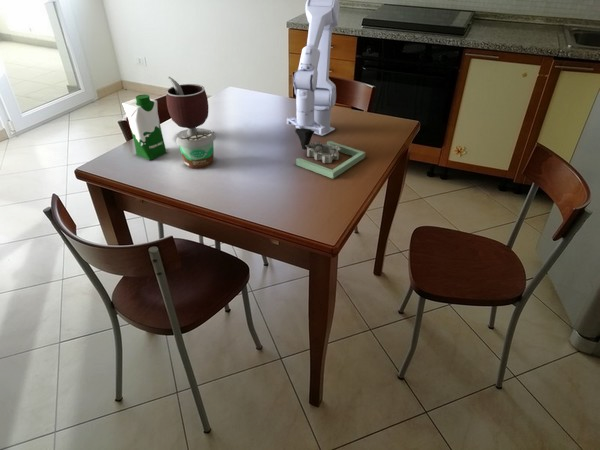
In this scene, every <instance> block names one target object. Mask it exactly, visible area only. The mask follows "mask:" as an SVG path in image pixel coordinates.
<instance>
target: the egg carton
mask: <svg viewBox="0 0 600 450" xmlns="http://www.w3.org/2000/svg"><path fill="white" fill-rule="evenodd" d="M305 146H306V147H307V149H306V156H307V157H308V158H314V160H315V161H322V164H331V163H333V160H335V161H338V160H339V157H340V152H339V150H340V149H341V147H339V146H337V145H334V146H332V145H327V143H320V141H316V142H315V141H313V142H312V143H311V142H310V143H309V144H308V145H305Z"/></svg>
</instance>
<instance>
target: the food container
mask: <svg viewBox="0 0 600 450" xmlns="http://www.w3.org/2000/svg"><path fill="white" fill-rule="evenodd" d="M215 140H216V135H215V132H214V131H213V129H211V132H210V133H207V134H197V135H192V136H190V137H186V138H182V139H180V138H178V137H177V139H176V138H175V143H176V145H177V146H179V150H180V153H181V157H182V160H183V163H184V166H185V167H187V168H189V169H192V170H201V169H207V168H208V167H210V166H212V165H213V164H214V162H215V153H214V149H215V148H214V142H215Z"/></svg>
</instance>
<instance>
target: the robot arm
mask: <svg viewBox="0 0 600 450" xmlns="http://www.w3.org/2000/svg"><path fill="white" fill-rule="evenodd" d="M304 9H305V11H304V12H305V16H306V21H307V22H308V33H307V40H306V46H304V47H303V48H302V49H301V54H300V58H299V64H298V68H297V70H295V72H294V74H293V79H292V85H293V89H294V95H295V98H296V99H295V106H296V108H295V109H296V111H295V112H296V113H295V114H296V117H294V116H288V117H286V124H287V125H293V126H295V128H296V129H295V130H294V131H295V134H296V136H297V137H298V140H299V142H300V145H301V149H302V150H303V151H305V150H306V151H307V147H306V146H305V145H308V144H311V140H312V137H313V135H314V134H315V135H318V136H321V137H323V136H326V135H328V134H329V133H331V132H333V131H335V130H336V128H335V127H333V126H331V122H332V121H331V119H332V118H331V117H332V108H334V107H335V105H336V101H337V87H336V84H335V83H334V82H333V81H331V79H330V78H329V77H330V63H331V50H332V49H331V48H332V34H333V30H334V28H336V27H337V26H338V25H339V22H340V21H339V19H340V0H306V2H305V8H304Z"/></svg>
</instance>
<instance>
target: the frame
mask: <svg viewBox="0 0 600 450" xmlns="http://www.w3.org/2000/svg"><path fill="white" fill-rule="evenodd" d="M326 144H327V145H332V146H334V145H337V146H339V147H341V149H340V150H339V151H338V152H339V153H342V154H345V155H347V156H348V155H349V156H351V157H350V158H349V159H347V160H345V161H343V162H342V163H340V164H339V165H338V166H337V165H336V166H335V167H334V168H333V169H331V168H328V167H325V166H323V165H320V164H317V163H314V162H312V161H309V160H306V159H304V158H301V157H298V158H296V160H295V165H296V166H297V167H300V168H303V169H306V170H308V171H310V172H313V173H316V174H318V175H322V176H324V177H328V178H329V179H333V180H334V179H335V178H337V177H338V176H340V175H342V174H343V173H344V172H346V171H347V170H349V169H351V168H352V167H354V166H355V165H356V164H358V163H359V162H360V161H362V160H364V159H365V158H366V152H365V151H363V150H359V149H357V148H353V147H350V146H347V145H344V144H340V143H337V142H334V141H333V140H332V141H331V140H327V142H326Z"/></svg>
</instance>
